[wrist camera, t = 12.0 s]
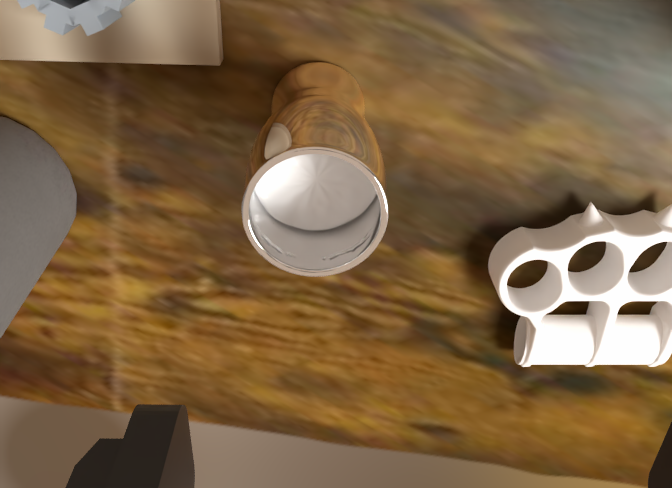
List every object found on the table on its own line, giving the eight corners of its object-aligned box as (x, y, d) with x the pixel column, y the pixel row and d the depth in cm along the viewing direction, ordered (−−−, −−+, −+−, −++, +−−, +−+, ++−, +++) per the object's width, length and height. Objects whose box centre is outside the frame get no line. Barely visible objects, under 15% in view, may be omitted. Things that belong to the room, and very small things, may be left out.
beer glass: (251, 68, 39) (214, 163, 26) (359, 42, 38) (376, 125, 25) (281, 167, 42) (262, 293, 30) (380, 144, 42) (405, 264, 29)
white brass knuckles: (472, 348, 52) (498, 190, 44) (684, 348, 52) (746, 191, 44) (481, 376, 49) (511, 212, 41) (705, 375, 49) (776, 213, 42)
